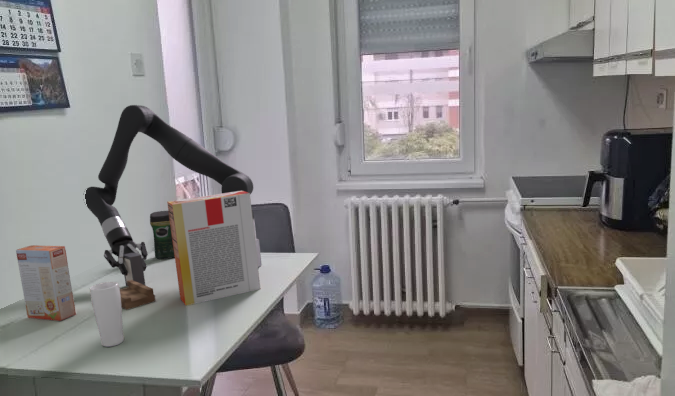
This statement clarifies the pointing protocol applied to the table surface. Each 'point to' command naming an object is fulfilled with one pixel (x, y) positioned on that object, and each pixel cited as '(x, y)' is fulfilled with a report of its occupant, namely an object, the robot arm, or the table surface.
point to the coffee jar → (162, 234)
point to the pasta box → (214, 246)
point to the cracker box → (46, 282)
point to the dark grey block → (134, 268)
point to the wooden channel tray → (136, 295)
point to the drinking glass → (108, 312)
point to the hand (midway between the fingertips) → (135, 272)
